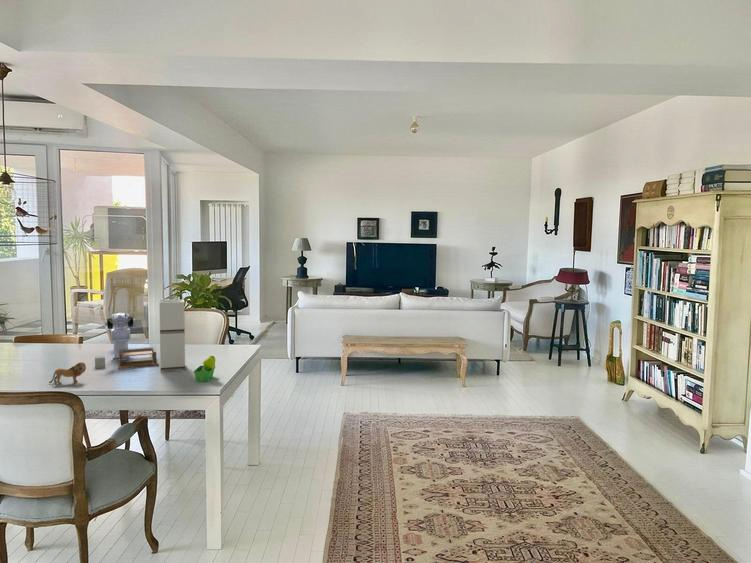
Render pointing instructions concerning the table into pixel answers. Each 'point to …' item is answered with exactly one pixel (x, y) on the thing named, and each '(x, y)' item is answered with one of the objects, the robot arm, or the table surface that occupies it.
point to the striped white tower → (172, 335)
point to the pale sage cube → (99, 361)
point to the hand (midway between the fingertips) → (120, 324)
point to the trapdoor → (137, 351)
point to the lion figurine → (69, 372)
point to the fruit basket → (205, 370)
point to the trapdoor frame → (137, 361)
